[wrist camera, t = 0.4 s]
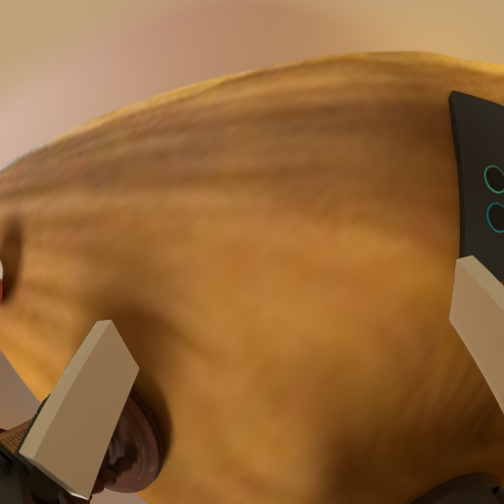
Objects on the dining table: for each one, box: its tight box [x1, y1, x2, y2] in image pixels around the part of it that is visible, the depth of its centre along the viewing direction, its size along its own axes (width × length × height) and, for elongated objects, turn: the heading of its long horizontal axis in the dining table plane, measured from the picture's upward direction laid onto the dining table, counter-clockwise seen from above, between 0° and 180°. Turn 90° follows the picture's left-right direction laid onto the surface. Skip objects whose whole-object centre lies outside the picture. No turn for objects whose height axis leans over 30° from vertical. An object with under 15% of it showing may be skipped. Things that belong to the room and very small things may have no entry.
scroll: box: [0, 390, 163, 504], centre depth 19 cm, size 15×15×20 cm
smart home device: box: [449, 91, 504, 281], centre depth 24 cm, size 8×2×20 cm
